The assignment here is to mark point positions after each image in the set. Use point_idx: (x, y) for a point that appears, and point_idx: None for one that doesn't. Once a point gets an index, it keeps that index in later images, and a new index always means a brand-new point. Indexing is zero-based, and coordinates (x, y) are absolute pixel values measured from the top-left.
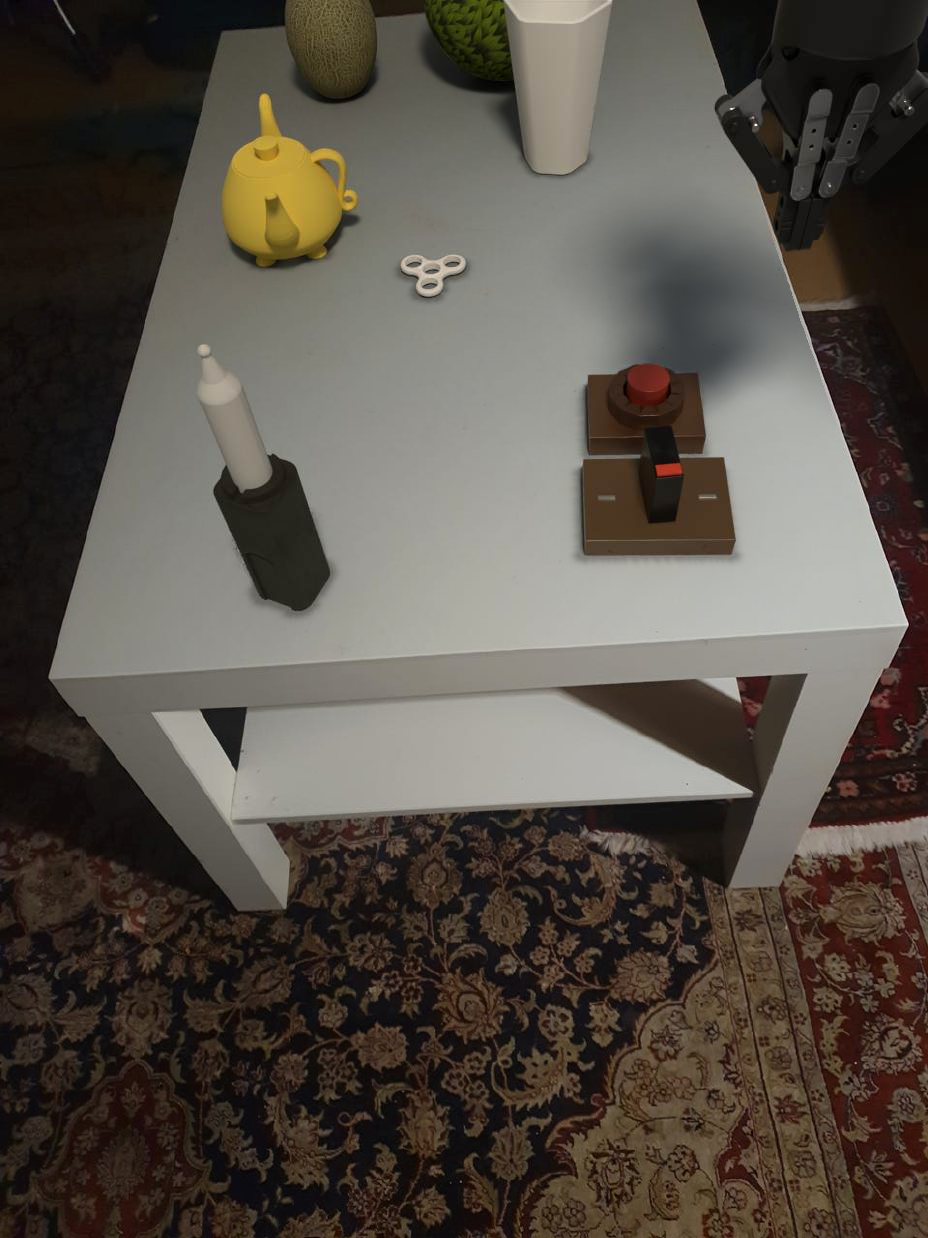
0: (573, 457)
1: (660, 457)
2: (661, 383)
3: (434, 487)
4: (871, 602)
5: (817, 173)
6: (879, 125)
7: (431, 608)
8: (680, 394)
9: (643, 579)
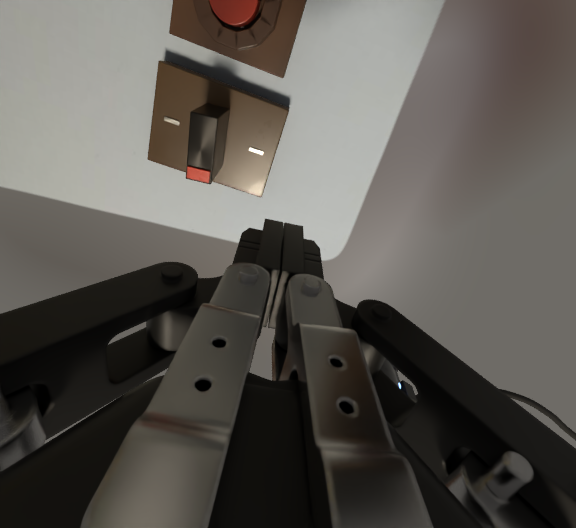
0: (161, 31)
1: (195, 156)
2: (244, 13)
3: (14, 19)
4: (331, 251)
5: (281, 331)
6: (420, 418)
7: (32, 162)
8: (269, 24)
9: (194, 189)
